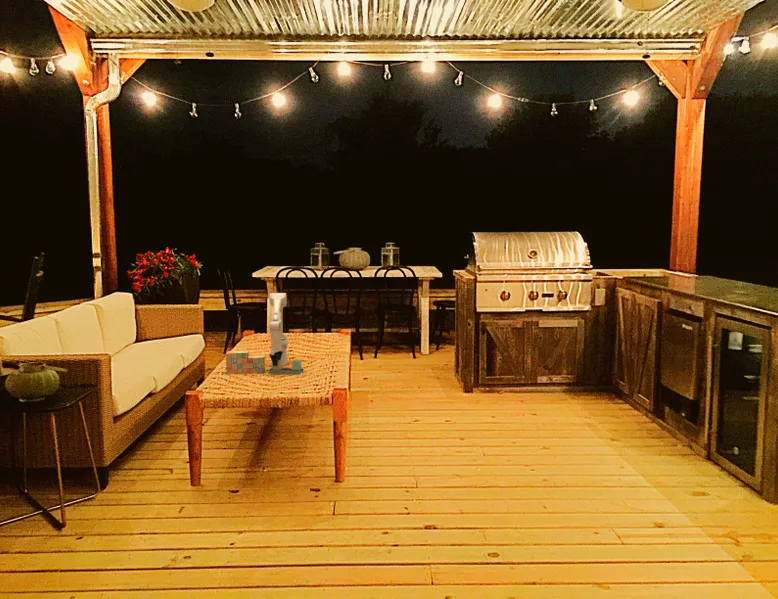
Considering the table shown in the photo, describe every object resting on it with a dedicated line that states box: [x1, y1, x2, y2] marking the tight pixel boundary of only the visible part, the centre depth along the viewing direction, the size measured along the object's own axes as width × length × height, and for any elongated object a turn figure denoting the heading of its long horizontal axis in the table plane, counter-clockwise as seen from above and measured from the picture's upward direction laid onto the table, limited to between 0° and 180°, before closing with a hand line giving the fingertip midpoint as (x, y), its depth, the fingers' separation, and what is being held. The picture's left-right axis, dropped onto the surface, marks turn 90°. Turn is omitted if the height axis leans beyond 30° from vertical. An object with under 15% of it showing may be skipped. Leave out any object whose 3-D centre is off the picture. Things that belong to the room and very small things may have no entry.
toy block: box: [271, 359, 283, 370], centre depth 372 cm, size 4×5×6 cm
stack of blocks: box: [225, 350, 266, 374], centre depth 373 cm, size 21×6×12 cm, turn 96°
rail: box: [267, 359, 305, 375], centre depth 371 cm, size 6×19×7 cm, turn 82°
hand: (276, 364), depth 372 cm, fingers open, 4 cm apart
